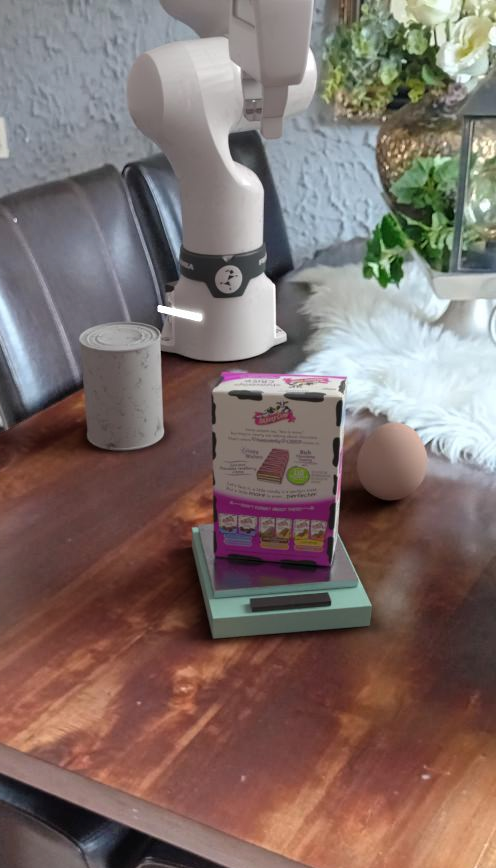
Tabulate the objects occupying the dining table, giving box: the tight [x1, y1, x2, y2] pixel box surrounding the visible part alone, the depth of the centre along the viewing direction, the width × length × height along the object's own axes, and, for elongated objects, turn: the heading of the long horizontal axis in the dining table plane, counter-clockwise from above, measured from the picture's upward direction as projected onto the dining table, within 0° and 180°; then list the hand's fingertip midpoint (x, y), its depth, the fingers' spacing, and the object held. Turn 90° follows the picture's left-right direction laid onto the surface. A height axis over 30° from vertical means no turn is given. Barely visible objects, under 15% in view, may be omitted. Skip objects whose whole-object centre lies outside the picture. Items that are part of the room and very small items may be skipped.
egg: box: [356, 421, 428, 501], centre depth 105 cm, size 7×7×8 cm
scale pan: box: [197, 523, 358, 598], centre depth 94 cm, size 12×13×1 cm
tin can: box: [78, 321, 165, 452], centre depth 120 cm, size 10×10×12 cm
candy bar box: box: [210, 371, 348, 566], centre depth 89 cm, size 11×5×16 cm, turn 75°
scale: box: [191, 526, 373, 640], centre depth 94 cm, size 16×14×3 cm
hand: (261, 128), depth 94 cm, fingers open, 8 cm apart
